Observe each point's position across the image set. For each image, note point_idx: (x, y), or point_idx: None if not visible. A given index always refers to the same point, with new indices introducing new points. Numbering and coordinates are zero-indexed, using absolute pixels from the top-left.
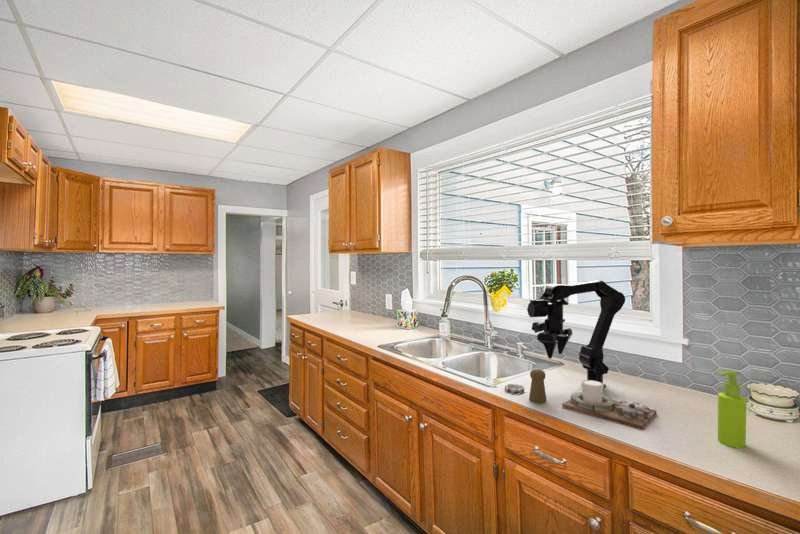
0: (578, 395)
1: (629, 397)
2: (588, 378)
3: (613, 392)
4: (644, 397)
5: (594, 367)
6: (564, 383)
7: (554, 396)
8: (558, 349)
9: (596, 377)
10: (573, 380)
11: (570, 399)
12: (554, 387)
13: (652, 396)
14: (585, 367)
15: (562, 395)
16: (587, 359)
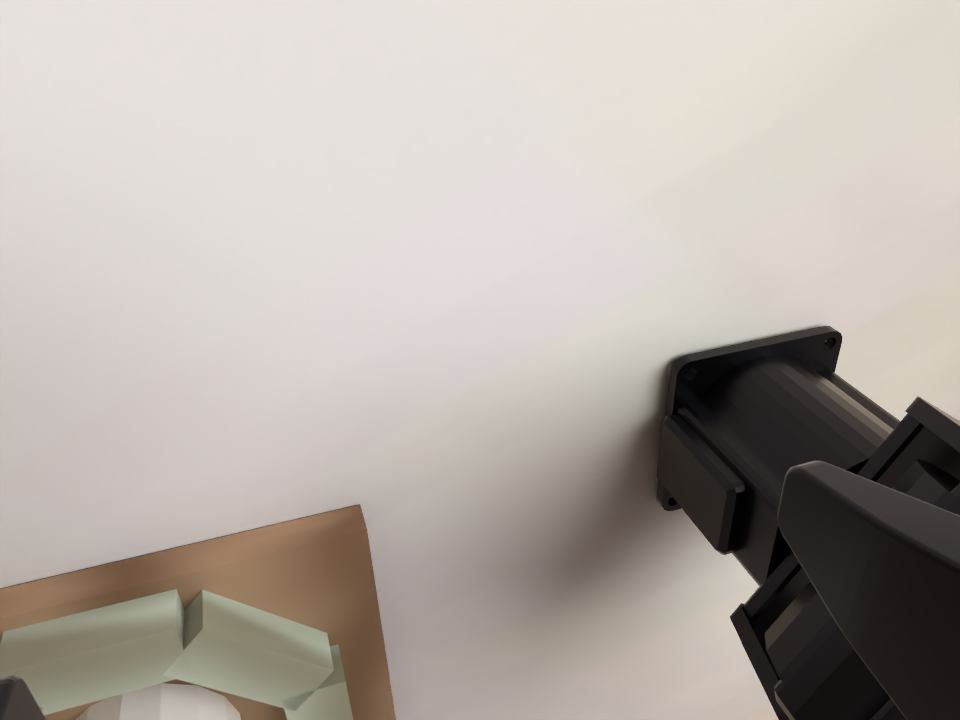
0: (93, 697)
1: (623, 677)
2: (708, 477)
3: (664, 575)
4: (690, 705)
5: (763, 684)
6: (627, 163)
7: (12, 384)
8: (890, 546)
9: (733, 554)
10: (811, 171)
11: (7, 624)
12: (362, 170)
13: (743, 708)
14: (898, 448)
15: (157, 413)
16: (853, 709)
